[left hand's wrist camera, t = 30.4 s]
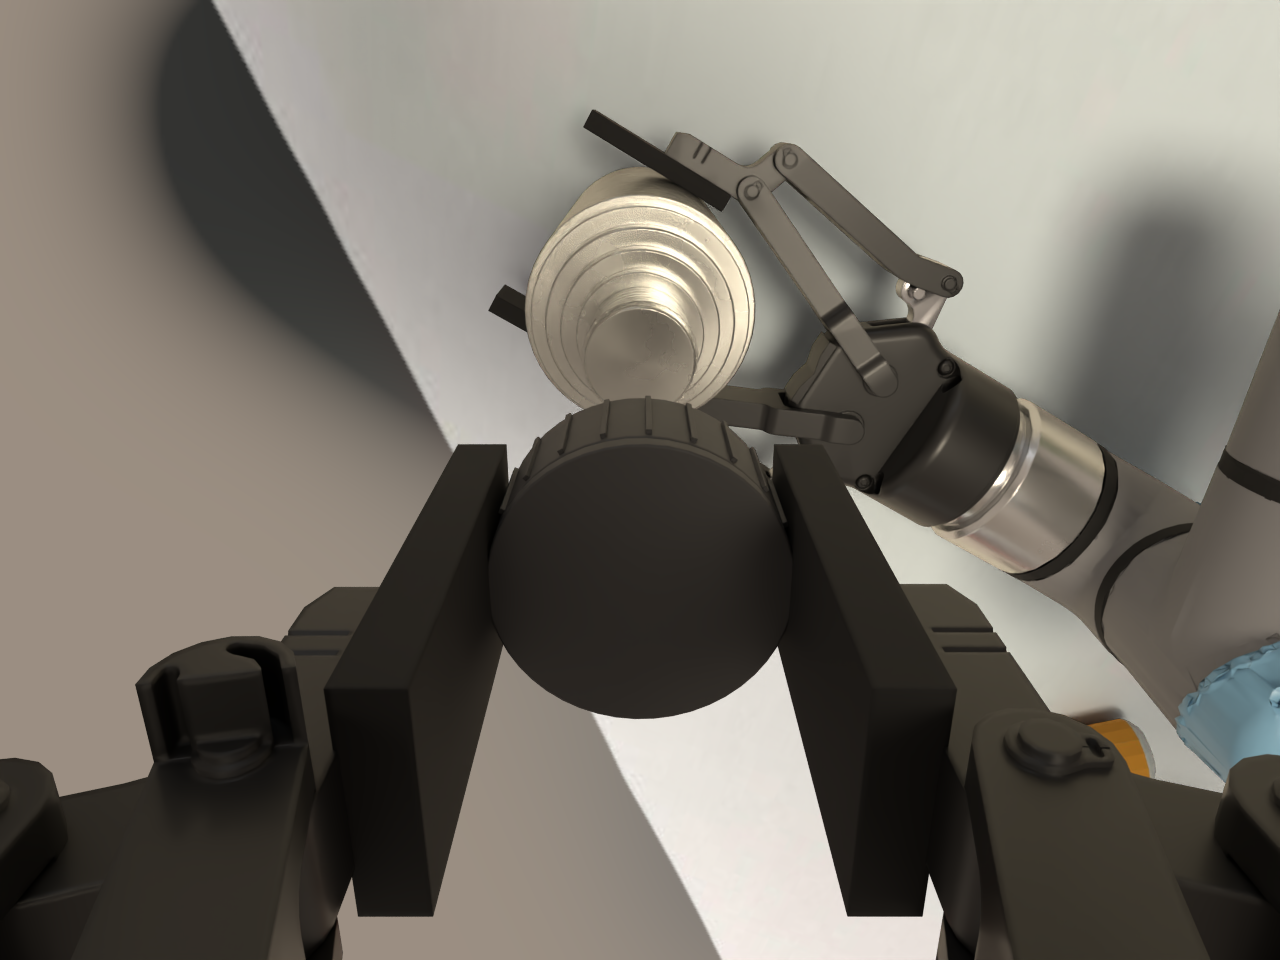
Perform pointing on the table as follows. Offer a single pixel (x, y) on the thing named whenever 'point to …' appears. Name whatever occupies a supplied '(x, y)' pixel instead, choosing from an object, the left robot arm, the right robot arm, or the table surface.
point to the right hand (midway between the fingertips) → (542, 211)
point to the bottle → (639, 296)
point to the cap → (640, 561)
